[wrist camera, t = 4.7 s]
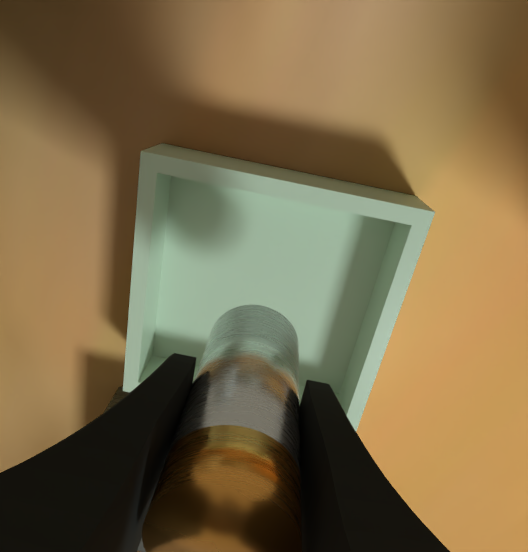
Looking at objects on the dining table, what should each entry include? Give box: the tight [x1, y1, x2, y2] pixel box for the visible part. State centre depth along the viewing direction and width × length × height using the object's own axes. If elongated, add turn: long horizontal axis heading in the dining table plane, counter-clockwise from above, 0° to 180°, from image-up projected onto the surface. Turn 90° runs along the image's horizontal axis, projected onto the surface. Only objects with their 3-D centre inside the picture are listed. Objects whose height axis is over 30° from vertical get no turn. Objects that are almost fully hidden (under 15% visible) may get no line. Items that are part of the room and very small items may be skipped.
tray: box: [123, 143, 435, 431], centre depth 17 cm, size 10×10×2 cm
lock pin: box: [142, 305, 302, 552], centre depth 11 cm, size 3×3×7 cm
